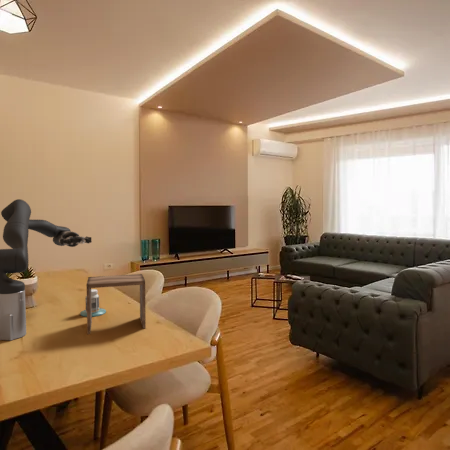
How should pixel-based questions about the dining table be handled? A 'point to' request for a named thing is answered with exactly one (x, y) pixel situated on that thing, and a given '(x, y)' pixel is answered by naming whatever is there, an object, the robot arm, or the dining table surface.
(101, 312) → the mat
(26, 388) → the dining table surface
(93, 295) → the pill bottle
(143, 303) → the cubby
